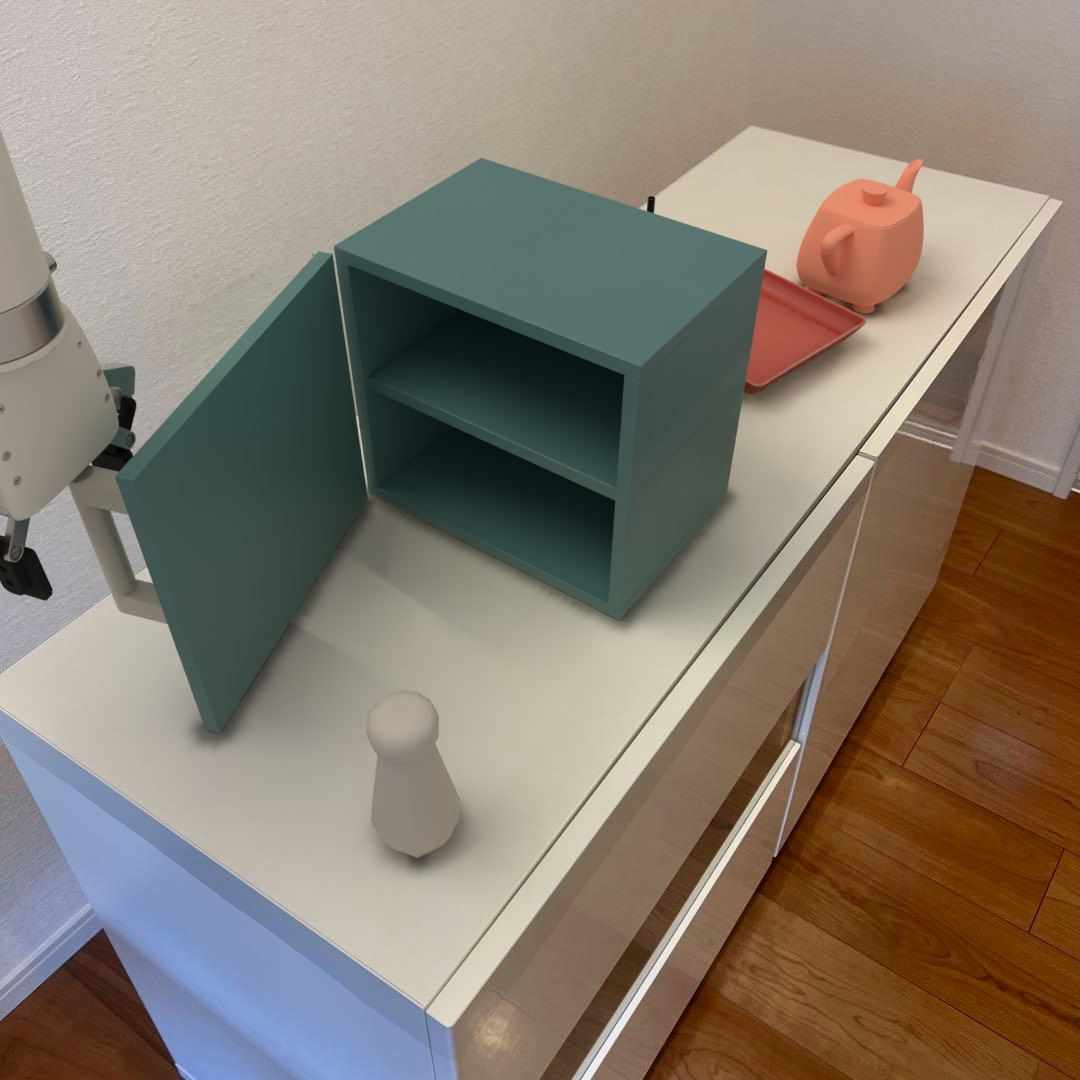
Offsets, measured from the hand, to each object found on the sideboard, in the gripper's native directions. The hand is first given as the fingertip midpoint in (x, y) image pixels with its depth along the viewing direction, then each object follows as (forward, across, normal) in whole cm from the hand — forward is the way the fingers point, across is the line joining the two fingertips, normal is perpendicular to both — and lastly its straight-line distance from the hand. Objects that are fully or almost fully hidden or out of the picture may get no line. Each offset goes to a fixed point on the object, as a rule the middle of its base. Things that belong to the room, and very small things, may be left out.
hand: (79, 541), depth 70 cm
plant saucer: (+15, -60, +33) cm, 70 cm away
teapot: (+15, -76, +42) cm, 88 cm away
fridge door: (+15, -11, +4) cm, 19 cm away
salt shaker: (+15, +4, +25) cm, 29 cm away
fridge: (+15, -31, +22) cm, 40 cm away
